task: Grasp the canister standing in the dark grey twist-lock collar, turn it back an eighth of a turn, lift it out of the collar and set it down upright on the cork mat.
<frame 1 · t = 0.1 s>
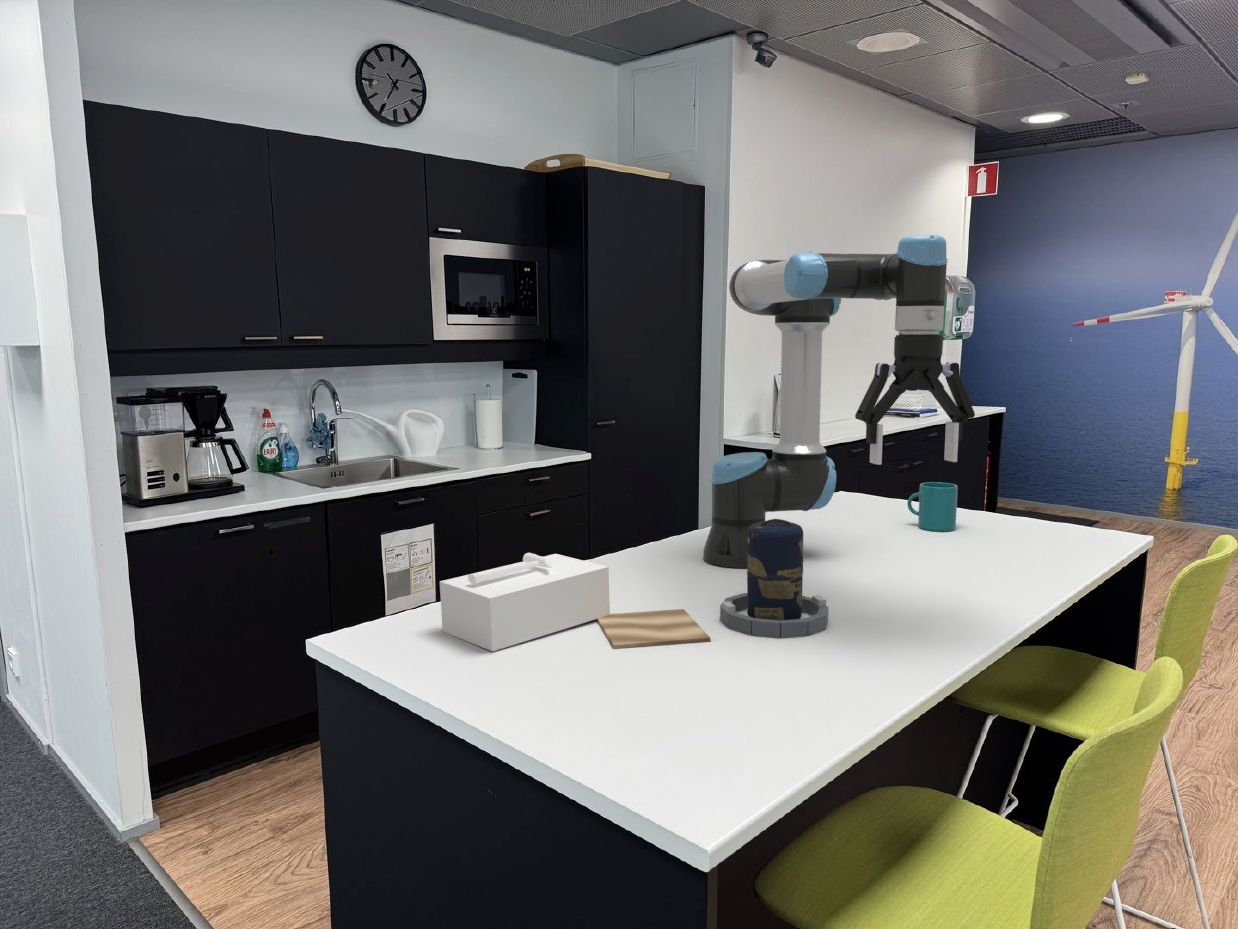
hand: (913, 462, 151), 28 cm above the counter, fingers open, 13 cm apart
canister: (773, 621, 158), resting in collar
mat: (650, 629, 153), on the counter
tissue box: (527, 624, 156), on the counter, touching mat
cup: (930, 528, 232), on the counter
collar: (773, 620, 158), on the counter
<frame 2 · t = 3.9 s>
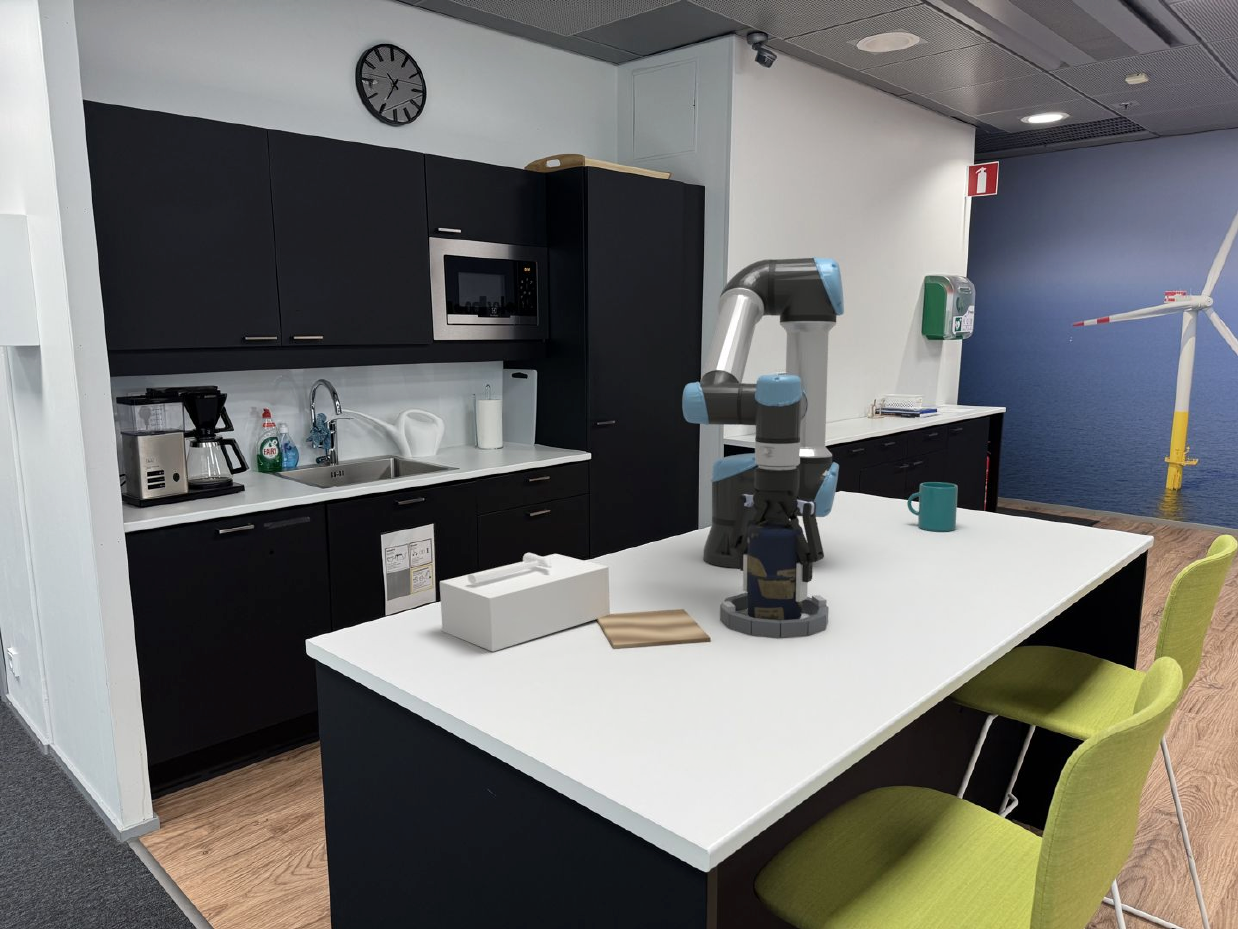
hand: (774, 594, 157), 5 cm above the counter, fingers closed on canister, 9 cm apart
canister: (773, 621, 158), resting in collar, touching gripper
everything else where it was.
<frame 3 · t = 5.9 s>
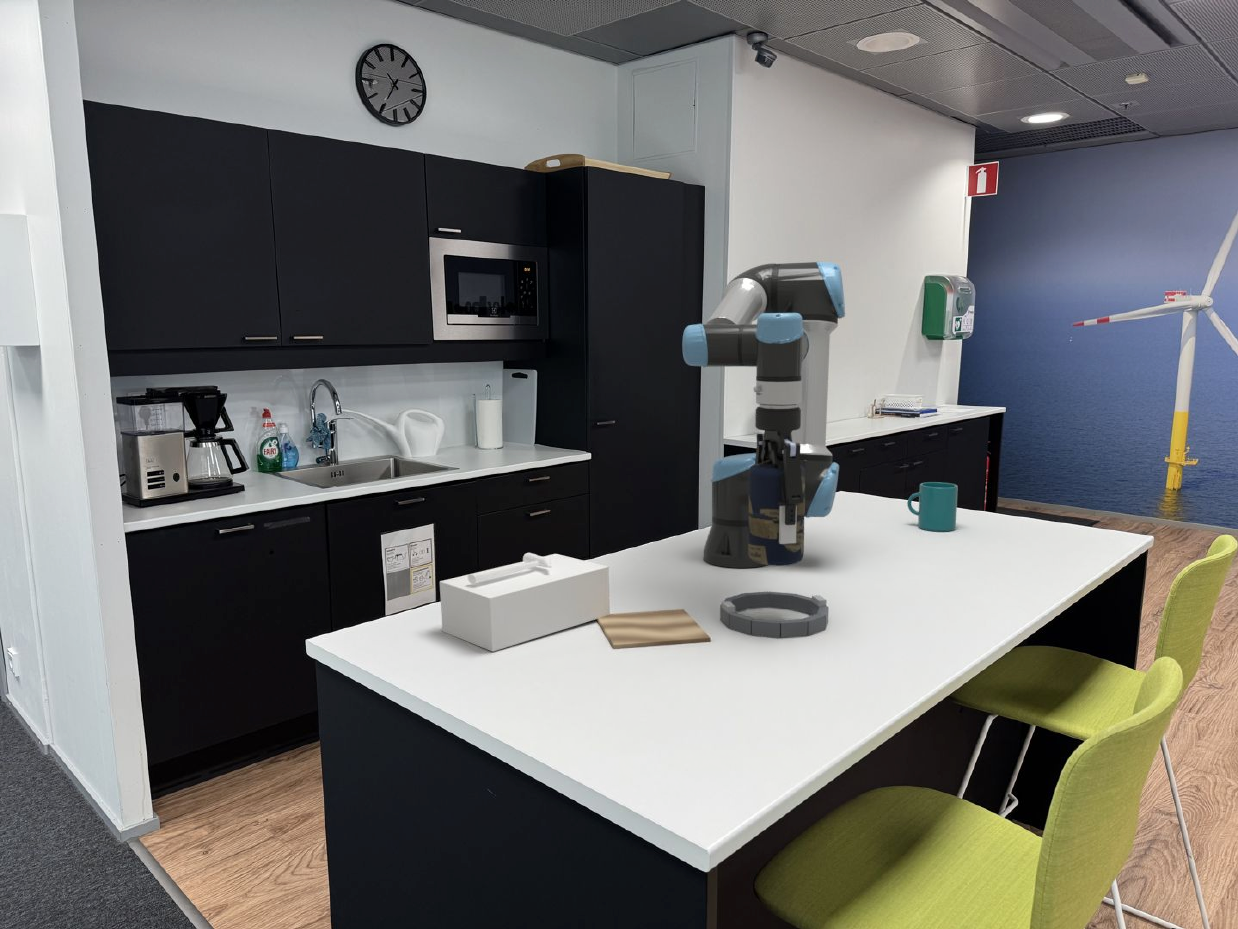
hand: (776, 535, 156), 15 cm above the counter, fingers closed on canister, 9 cm apart
canister: (775, 562, 157), point 10 cm above the counter, touching gripper
everything else where it was.
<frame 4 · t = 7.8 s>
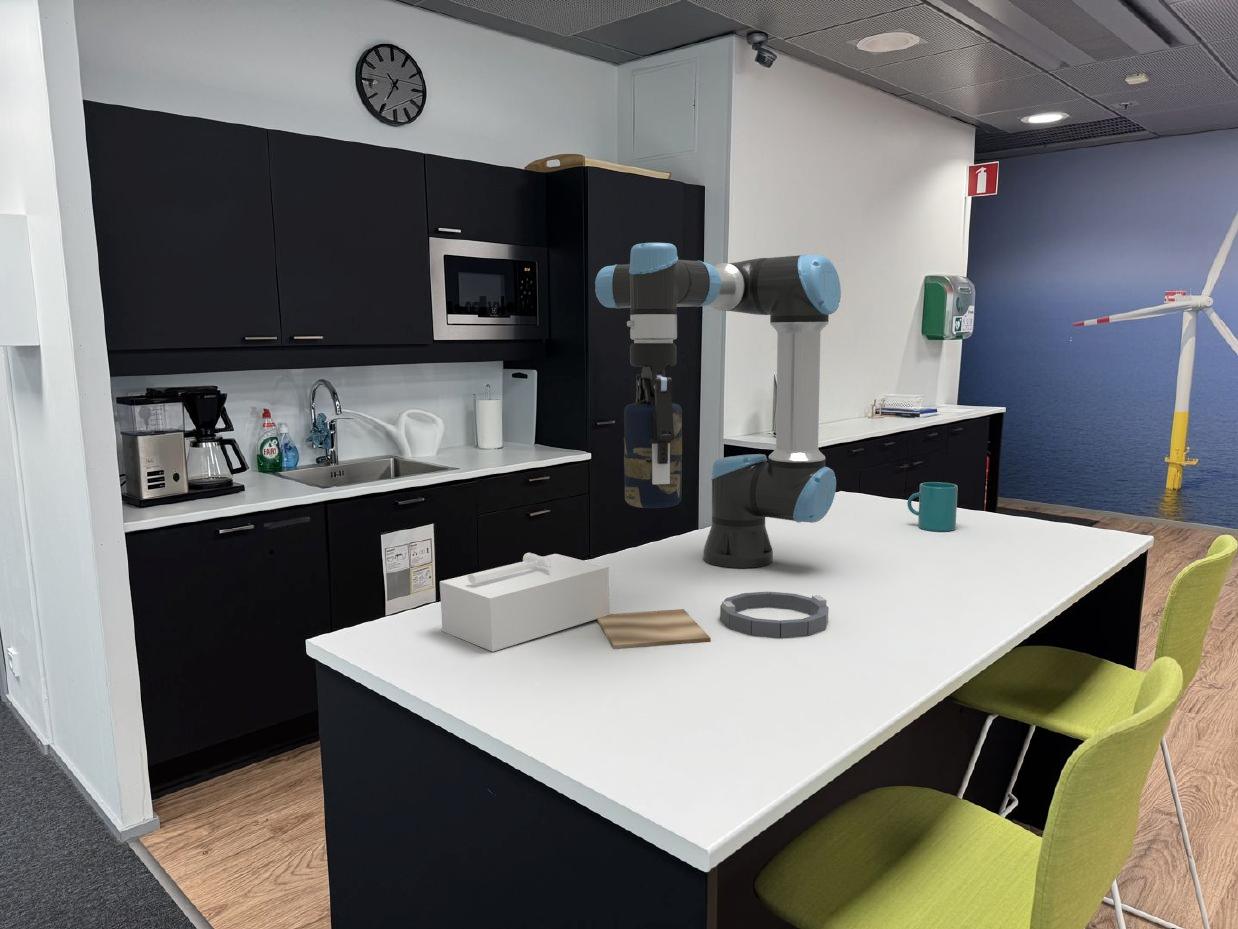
hand: (653, 478, 150), 26 cm above the counter, fingers closed on canister, 9 cm apart
canister: (652, 507, 150), point 21 cm above the counter, touching gripper
everything else where it was.
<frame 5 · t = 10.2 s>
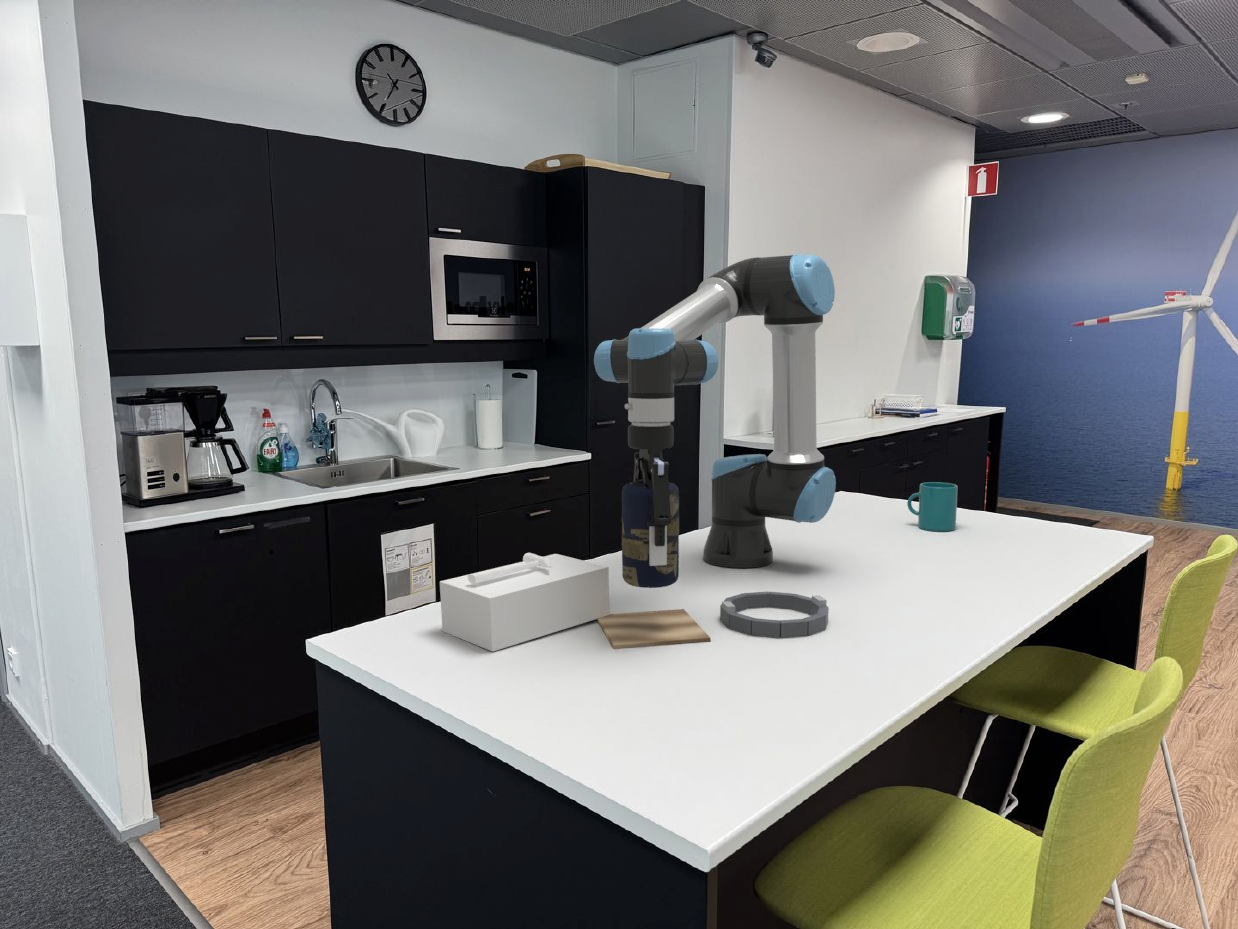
hand: (650, 557, 152), 12 cm above the counter, fingers closed on canister, 9 cm apart
canister: (650, 585, 152), point 8 cm above the counter, touching gripper
everything else where it was.
when the fingers open (7 cm above the counter, at t = 11.9 s): canister drops 2 cm, resting on mat.
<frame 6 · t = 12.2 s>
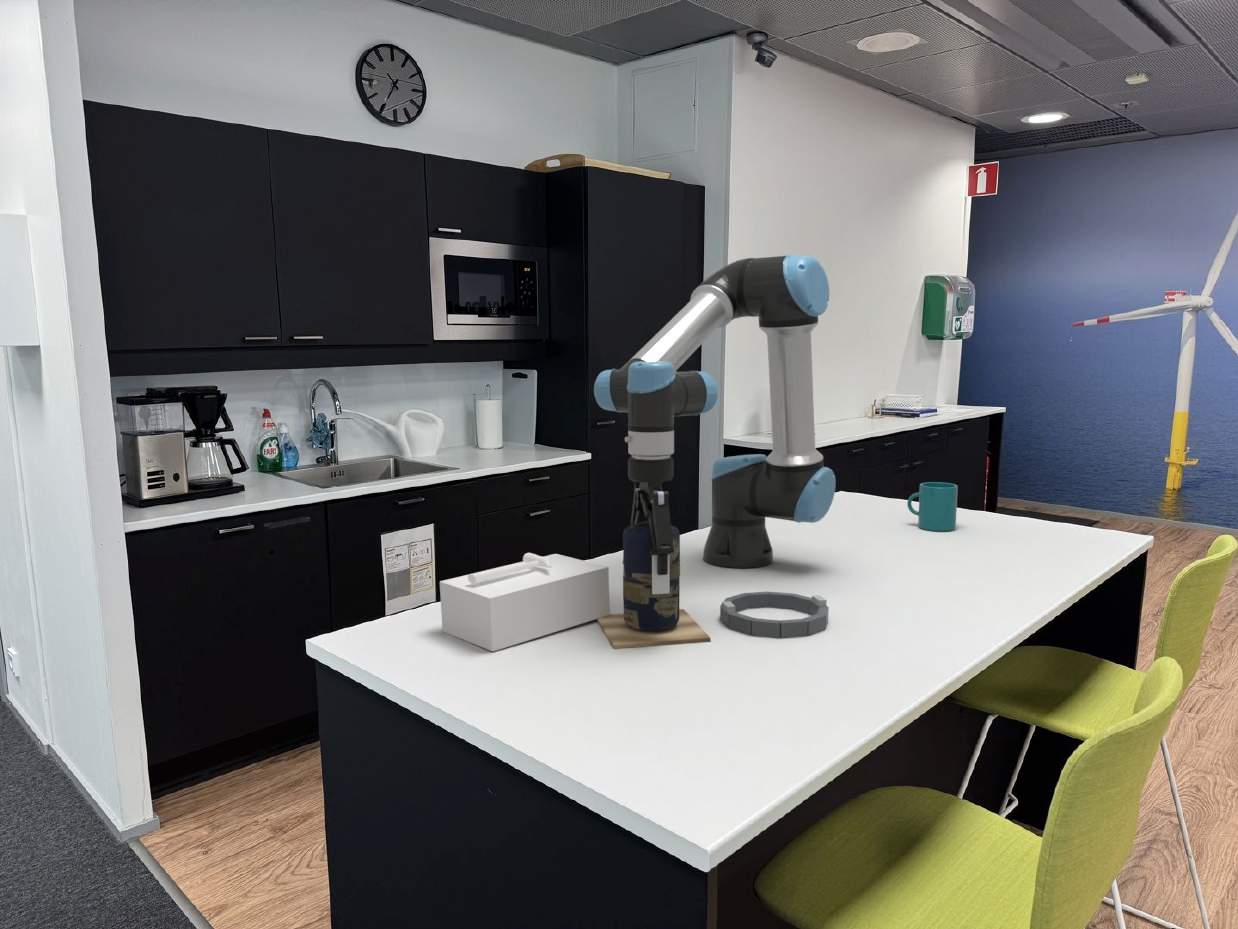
hand: (650, 582, 152), 8 cm above the counter, fingers open, 13 cm apart
canister: (651, 626, 153), resting on mat
everything else where it was.
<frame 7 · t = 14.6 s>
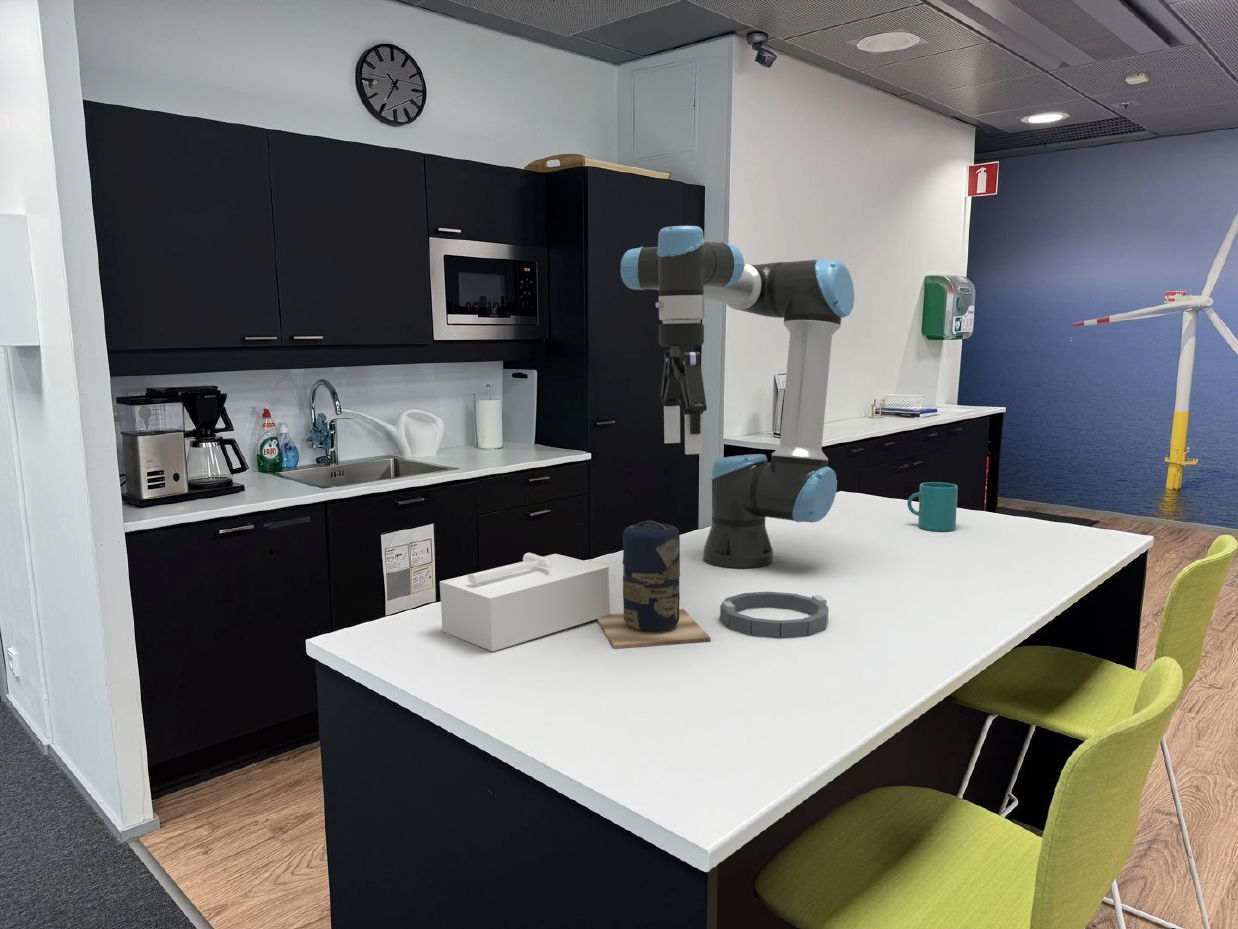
hand: (682, 448, 155), 30 cm above the counter, fingers open, 13 cm apart
nothing on the counter moved.
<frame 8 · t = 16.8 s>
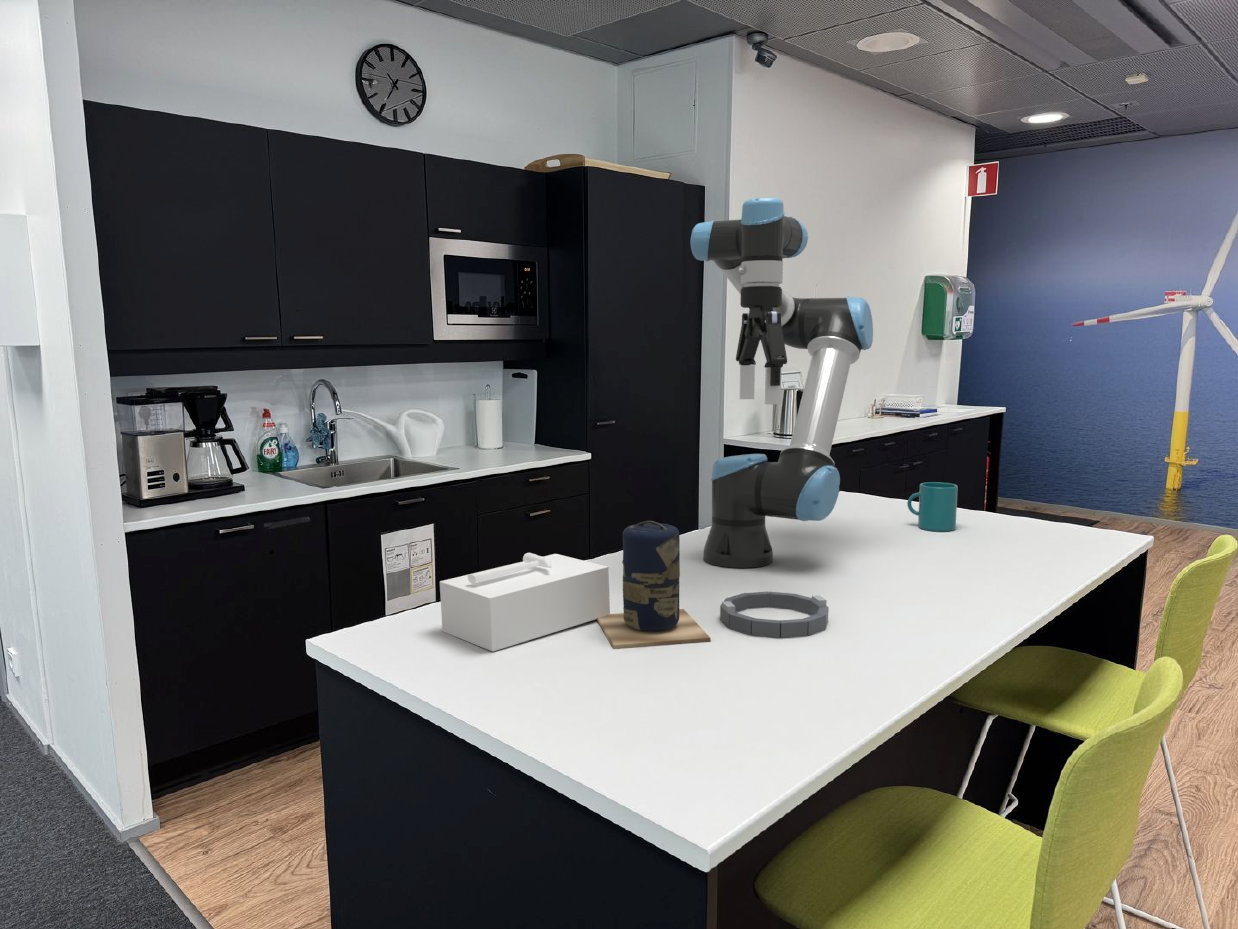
hand: (759, 401, 170), 37 cm above the counter, fingers open, 13 cm apart
nothing on the counter moved.
at the end: canister inside the target area on the mat (0.1 cm from its centre), point 0.4 cm above the mat's base; canister tilted 0°; the gripper is holding nothing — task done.
